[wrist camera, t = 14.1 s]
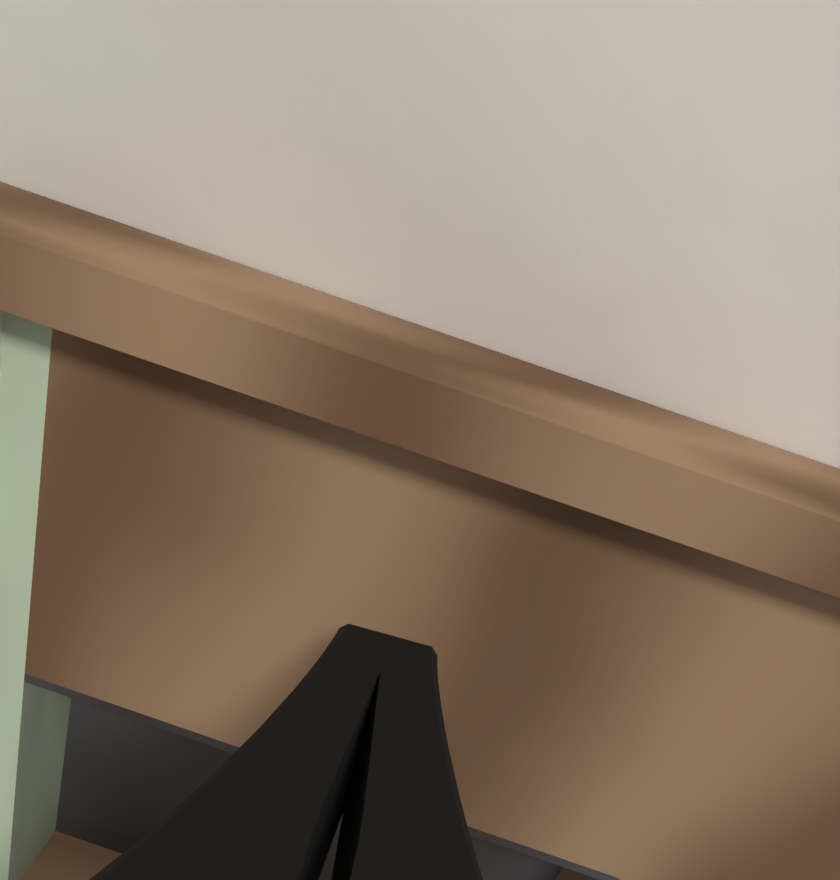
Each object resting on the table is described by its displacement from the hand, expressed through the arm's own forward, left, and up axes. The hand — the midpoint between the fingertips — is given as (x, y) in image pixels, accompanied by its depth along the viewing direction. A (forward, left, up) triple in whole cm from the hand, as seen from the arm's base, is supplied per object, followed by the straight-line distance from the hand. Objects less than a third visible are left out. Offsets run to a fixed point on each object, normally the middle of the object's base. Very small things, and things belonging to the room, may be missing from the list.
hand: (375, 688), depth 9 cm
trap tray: (+1, +4, -3) cm, 5 cm away
